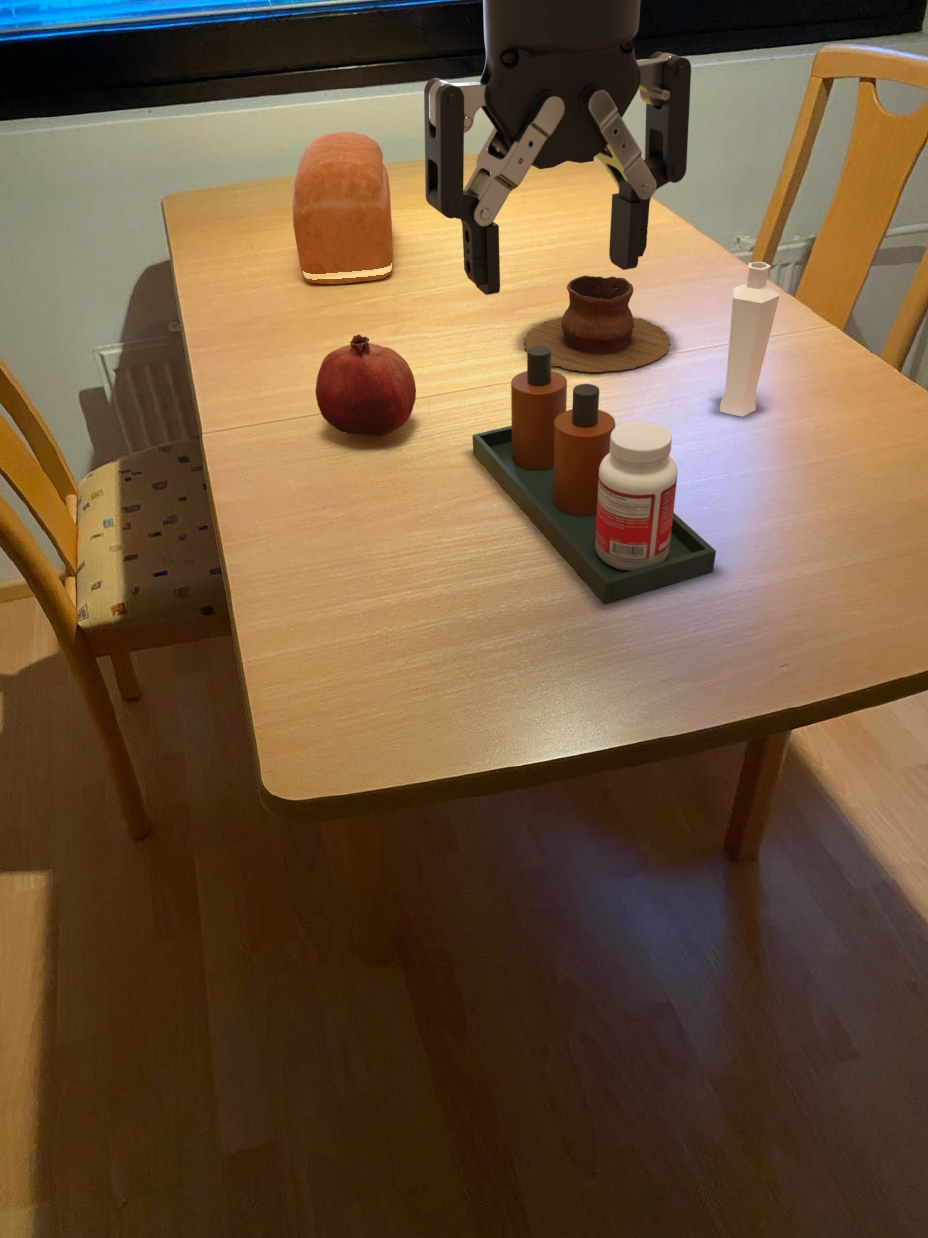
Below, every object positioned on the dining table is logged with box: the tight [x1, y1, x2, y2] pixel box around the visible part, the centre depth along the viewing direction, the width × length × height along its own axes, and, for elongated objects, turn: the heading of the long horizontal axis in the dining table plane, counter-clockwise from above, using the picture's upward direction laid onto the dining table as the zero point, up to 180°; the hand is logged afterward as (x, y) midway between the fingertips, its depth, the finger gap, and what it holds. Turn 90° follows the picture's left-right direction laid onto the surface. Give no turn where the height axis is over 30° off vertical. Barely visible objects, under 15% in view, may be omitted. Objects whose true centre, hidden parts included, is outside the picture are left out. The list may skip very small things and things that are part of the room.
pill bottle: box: [596, 420, 678, 571], centre depth 75 cm, size 6×6×11 cm
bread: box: [292, 131, 394, 285], centre depth 138 cm, size 14×26×16 cm, turn 4°
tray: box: [472, 425, 717, 605], centre depth 85 cm, size 10×27×2 cm, turn 22°
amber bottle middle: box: [553, 383, 616, 516], centre depth 82 cm, size 5×5×11 cm
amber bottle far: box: [510, 346, 568, 470], centre depth 88 cm, size 5×5×11 cm
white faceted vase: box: [719, 261, 781, 418], centre depth 94 cm, size 5×4×15 cm
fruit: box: [315, 334, 417, 438], centre depth 95 cm, size 11×10×10 cm
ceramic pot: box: [522, 275, 672, 373], centre depth 111 cm, size 18×18×7 cm
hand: (556, 277), depth 53 cm, fingers open, 8 cm apart
